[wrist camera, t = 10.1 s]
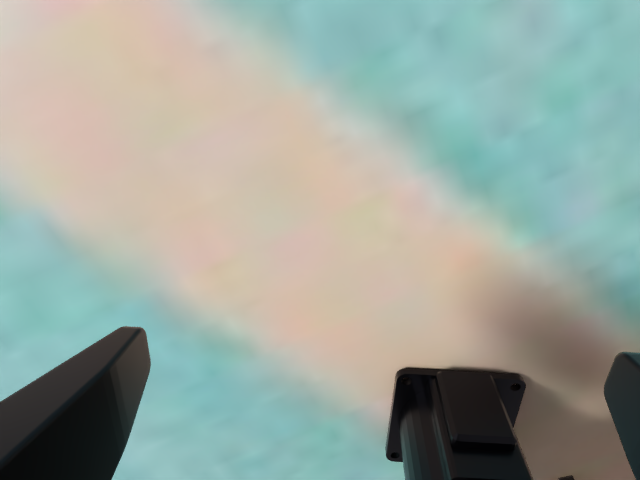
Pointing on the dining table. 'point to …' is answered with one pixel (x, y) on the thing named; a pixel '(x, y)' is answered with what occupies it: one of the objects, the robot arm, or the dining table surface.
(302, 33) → the dining table surface
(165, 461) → the dining table surface
